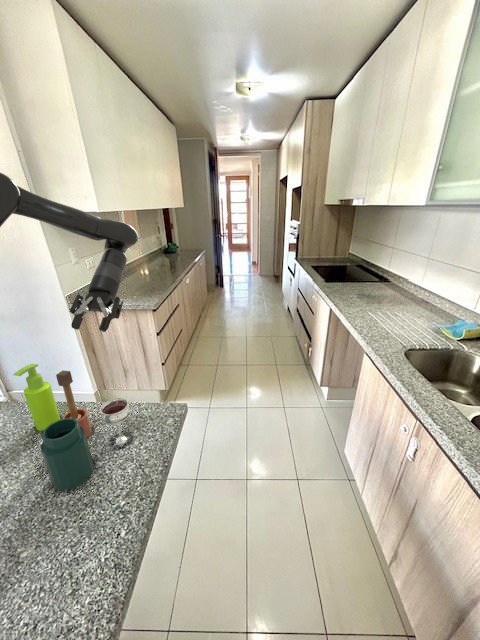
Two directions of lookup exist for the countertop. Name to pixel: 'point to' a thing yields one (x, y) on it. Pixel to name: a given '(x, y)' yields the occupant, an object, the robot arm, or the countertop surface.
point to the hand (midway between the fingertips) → (88, 329)
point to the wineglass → (115, 414)
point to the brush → (68, 392)
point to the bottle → (66, 453)
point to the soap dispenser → (39, 398)
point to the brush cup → (82, 421)
